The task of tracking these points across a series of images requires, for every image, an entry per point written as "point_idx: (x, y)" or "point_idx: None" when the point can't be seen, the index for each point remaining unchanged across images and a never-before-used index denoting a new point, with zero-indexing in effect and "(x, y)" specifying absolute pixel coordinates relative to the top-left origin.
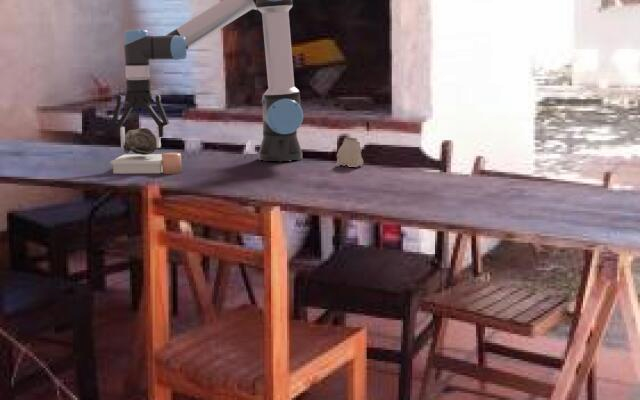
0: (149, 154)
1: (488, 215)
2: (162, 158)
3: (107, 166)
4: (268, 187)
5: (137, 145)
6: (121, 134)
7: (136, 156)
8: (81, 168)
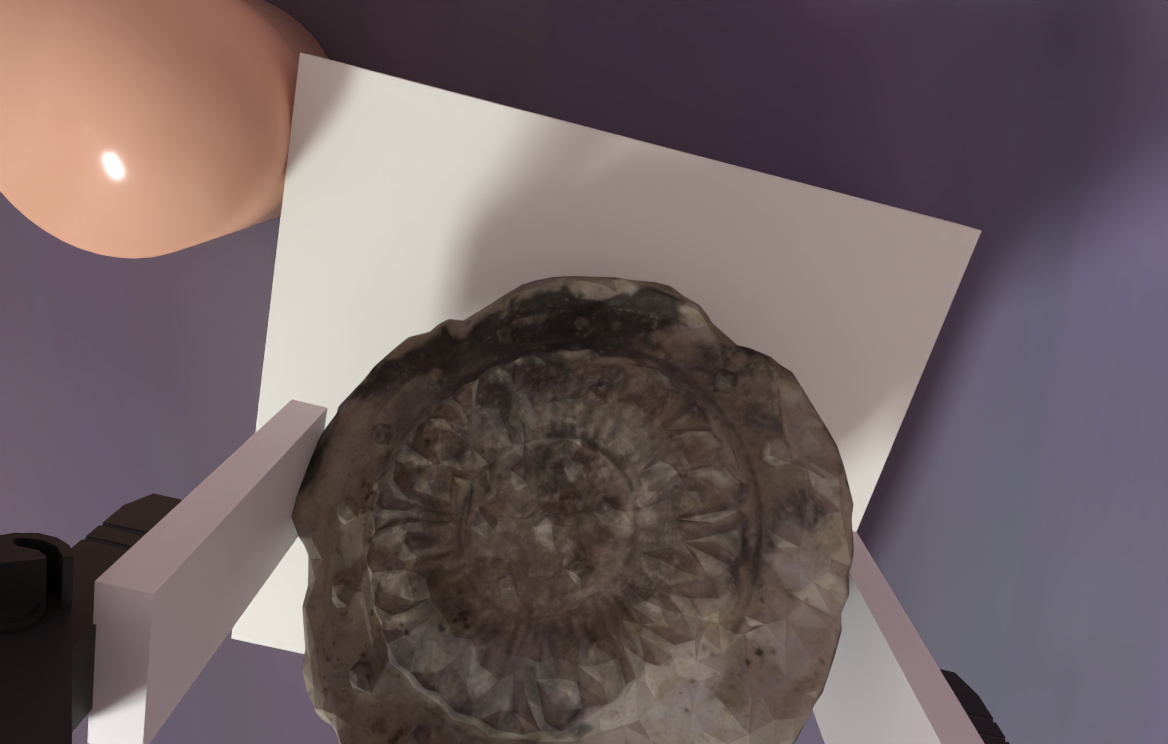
0: None
1: None
2: (265, 67)
3: None
4: None
5: (619, 374)
6: (921, 665)
7: None
8: (1147, 649)
